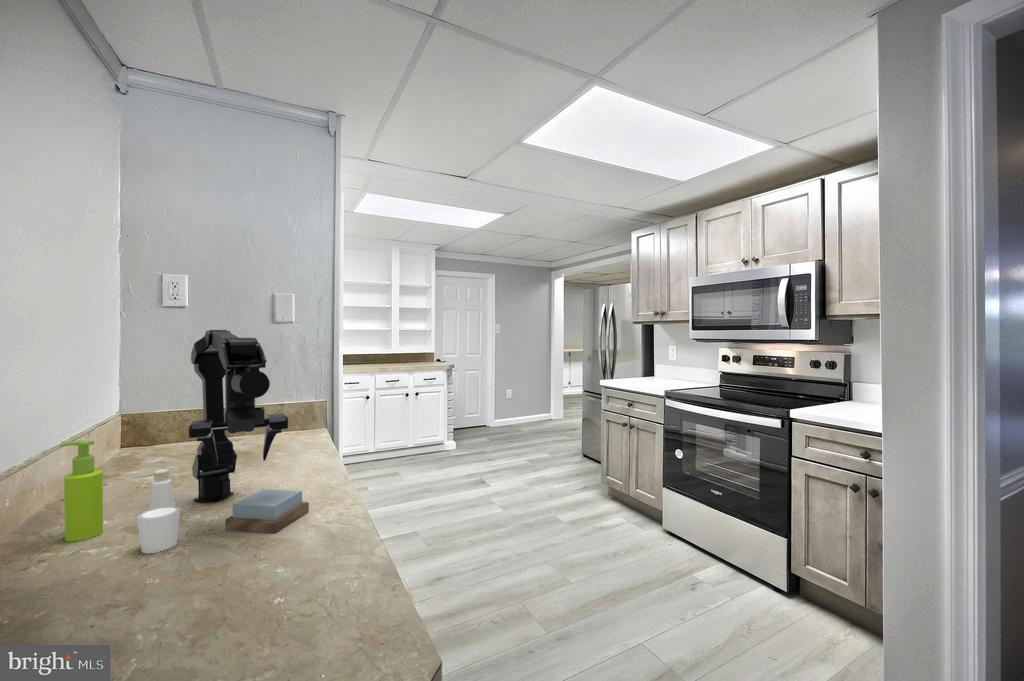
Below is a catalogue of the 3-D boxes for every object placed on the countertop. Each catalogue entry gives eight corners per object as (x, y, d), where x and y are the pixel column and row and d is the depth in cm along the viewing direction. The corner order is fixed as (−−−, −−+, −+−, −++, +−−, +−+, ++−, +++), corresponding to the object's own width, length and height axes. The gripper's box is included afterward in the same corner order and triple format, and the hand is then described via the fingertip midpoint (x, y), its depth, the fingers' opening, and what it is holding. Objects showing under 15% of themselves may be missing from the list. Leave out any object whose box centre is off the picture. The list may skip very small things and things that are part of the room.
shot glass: (157, 556, 87) (156, 520, 87) (128, 553, 89) (127, 517, 89) (189, 540, 94) (188, 507, 94) (161, 537, 95) (161, 504, 95)
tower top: (232, 517, 100) (232, 504, 100) (263, 501, 110) (263, 489, 110) (274, 520, 99) (274, 506, 98) (302, 503, 108) (302, 491, 108)
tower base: (225, 532, 99) (225, 519, 99) (263, 511, 111) (263, 499, 111) (275, 536, 98) (275, 522, 97) (308, 514, 109) (308, 502, 109)
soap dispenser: (76, 530, 99) (75, 438, 99) (110, 529, 100) (109, 438, 100) (51, 542, 93) (50, 445, 93) (87, 541, 94) (86, 444, 94)
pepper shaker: (181, 514, 108) (181, 468, 108) (157, 523, 103) (157, 474, 103) (165, 511, 110) (165, 466, 110) (141, 520, 105) (140, 472, 104)
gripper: (186, 401, 90) (187, 480, 90) (290, 394, 100) (291, 465, 100) (190, 395, 100) (191, 466, 100) (285, 389, 109) (285, 454, 110)
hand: (240, 463), depth 102 cm, fingers open, 9 cm apart
